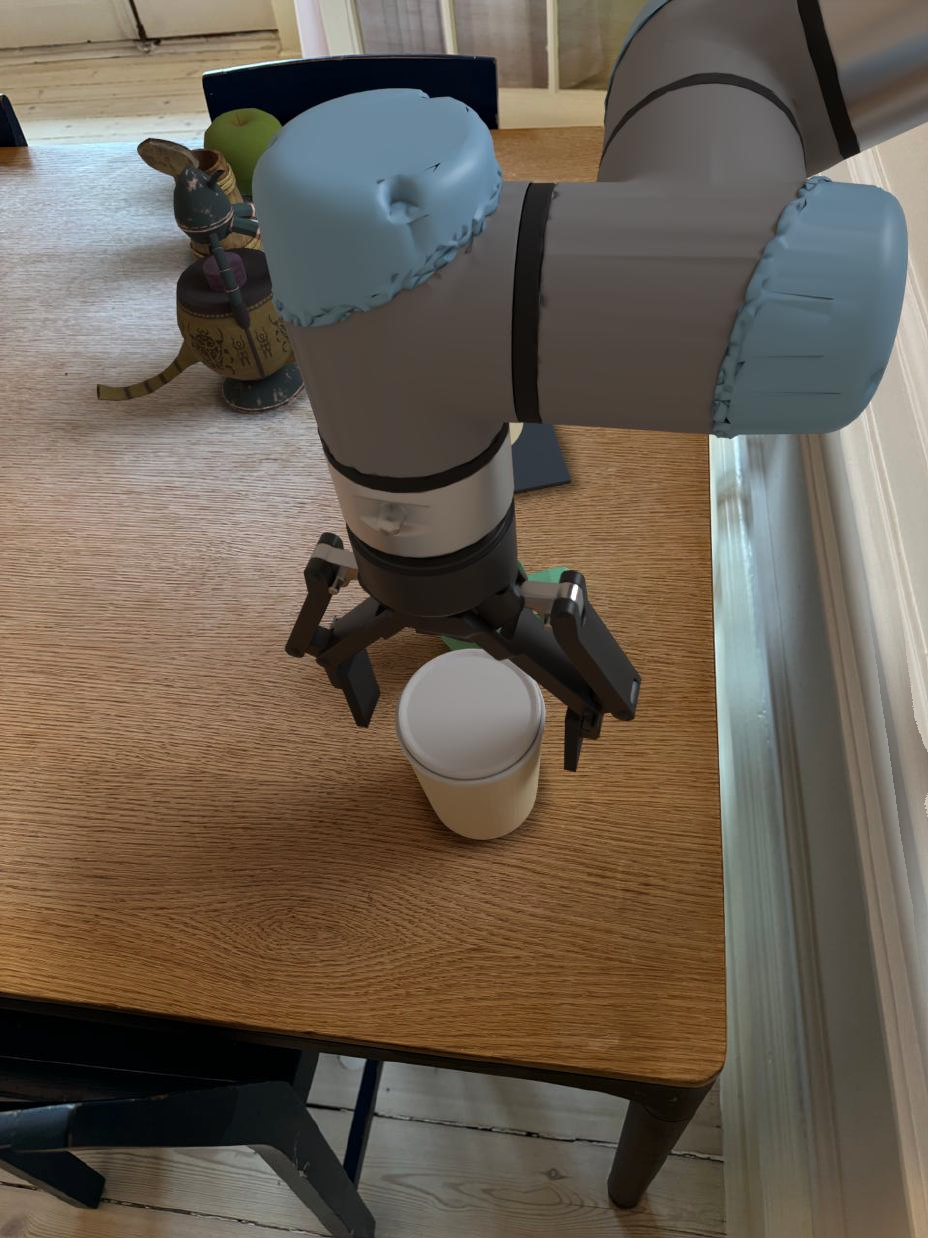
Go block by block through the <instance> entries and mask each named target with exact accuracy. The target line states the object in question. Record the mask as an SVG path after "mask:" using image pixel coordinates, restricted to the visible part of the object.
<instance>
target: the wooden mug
mask: <svg viewBox="0 0 928 1238" xmlns="http://www.w3.org/2000/svg"><path fill="white" fill-rule="evenodd" d="M136 152H137V154H138V155H139V157H140V158H141V160H142V161H143V162H144V163H145V164H146V165H147V166H148V167H150V168H152V169H153V170H156V171H157V172H160V173H162V174H164V175H168V176H170V177H172V178H173V180H174V186H176V183H177V180H178V177H179V175H180V174H181V172H182V171H183V169H184V168H185V167H186V165H188V166H190V167H193V168H196V169H199V170H201V171H202V172H204V173H205V174H207V175H208V176H209V177H211V176H212V175H213V173H214V172H215V171H216V170H221V169H222V170H225V173H223V174H222V175H221V176H220V177H219V178H218V180H217V184H218V185H219V186H220V187H221V189H222V190H223V191H224V193H225V194H226V196H227V197H228V199H229V201H230V203H231V204H235V203H245V202H244V200H243V198H242V194H240V193H239V191H238V188H237V186H236V183H235V182H236V180H235V176H234V174H233V172H232V169H231V167H230V165H229V164H228V163H227V162H226V160H225V158H224V156H223V154H222V153H221V152H220V151H218V150H216V149H212V148H206V149H204V148H194V149H190V148H189V147H187V146H186V145H183V144H181V143H178V142H175V141H172V140H168V139H164V138H155V137H148V138H146V139H144V140H143V141H141V142H140V143H139V144H138V145H137V148H136ZM248 220H252V219H248ZM189 239H190V241H189V247H190V251H191V255H192V258H193V263H194V262H195V261H197V260H198V259H200V258H202V257H204V256H207V255H210V251H209V248H208V247H209V246H208V245H199V244H197V243H195V242H194V241H193V240H192V239H191V238H190V237H189ZM220 244H221V246H222V247H223V249H224V250H227V249H231V248H251V249H257V250H260V251H262V249H263V243H262V241H260V240H258V239H256V238H253V237H251V236H247V235H243V234H239V233H234V232H233V233H231V234H229V235H228V237H227V238H226V239H224V240H223V241H221V242H220Z"/></svg>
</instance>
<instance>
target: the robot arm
mask: <svg viewBox="0 0 928 1238" xmlns="http://www.w3.org/2000/svg"><path fill="white" fill-rule="evenodd" d="M621 44H622V45H621V48H620V51H619V52H618V55H617V57H616V59H615V62H614V64H613V67H612V70H611V74H610V77H609V81H608V83H607V84H608V85H607V89H606V95H605V99H604V116H603V126H604V134H603V142H602V151H601V156H600V161H599V166H598V170H597V175H596V181H579V182H578V181H574V182H573V181H570V182H569V181H568V182H567V181H563V182H562V181H560V182H558V181H557V182H556V183H555V182H534V181H533V180H506V179H503V169H502V168H501V166H500V163H499V161H498V159H497V158H496V155H495V147H494V141H493V137H492V133H491V132H490V129H489V127H488V125H487V124H486V123H485V122H484V121H483V119H482V118H481V117H480V116H479V114H478V113H477V111H475V110H474V109H473V108H472V107H470V106H469V105H467V104H466V103H464V102H463V101H461V100H458V99H455V98H453V97H451V96H440V97H439V96H437V97H431V98H430V96H429V95H428V94H427V92H423V90H422V89H417V88H378V89H372V90H365V91H361V92H354V93H350V94H346V95H343V96H339V97H336V98H333V99H330V100H327V101H324V102H322V103H319V104H317V105H315V106H312V107H311V108H308V109H307V110H305V111H303V112H302V113H299V114H298V115H296V116H295V117H294V118H291V119H290V120H289V121H288V122H287V123H285V124H284V125H283V126H282V128H281V129H280V130H279V131H278V132H277V133H276V134H275V135H274V136H273V137H272V138H271V140H270V142H269V144H268V146H267V148H266V150H265V152H264V153H263V154H262V155H261V157H260V158H259V160H258V162H257V165H256V167H255V170H254V174H253V179H252V196H253V197H252V204H254V208H255V212H256V217H257V220H256V222H257V223H258V225H259V230H260V234H261V238H262V248H263V252H265V256H266V260H267V264H268V269H269V273H270V277H271V282H272V290H271V291H272V293H273V299H272V302H273V305H274V308H275V310H276V312H277V313H278V315H279V318H283V321H284V324H285V327H286V330H287V333H288V337H289V340H290V343H291V346H292V349H293V352H294V355H295V358H296V361H297V364H298V367H299V370H300V373H301V377H302V380H303V383H304V386H305V388H304V390H305V391H306V395H307V398H308V401H309V404H310V408H311V410H312V414H313V416H314V420H315V422H316V423H315V424H316V425H317V427H316V429H317V434H318V437H319V439H320V443H321V446H322V451H323V456H324V457H325V458H324V459H325V462H326V465H327V469H328V472H329V474H330V475H329V476H330V478H331V481H332V484H333V487H334V491H335V495H336V498H337V501H338V504H339V507H340V511H341V514H342V518H343V519H344V522H345V528H346V533H347V536H348V540H349V543H350V546H351V550H347V549H346V550H345V546H344V541H343V539H342V538H341V537H340V536H339V535H337V534H336V533H333V532H330V531H329V532H328V531H325V532H322V533H321V534H320V536H319V538H318V541H317V542H316V545H315V547H314V549H313V551H312V553H311V555H310V558H309V559H308V561H307V564H306V566H305V567H304V570H303V577H304V582H305V585H306V591H307V595H306V597H305V599H304V601H303V604H302V606H301V608H300V611H299V613H298V616H297V618H296V620H295V621H294V625H293V627H292V630H291V632H290V633H289V637H288V639H287V641H286V644H285V646H284V652H285V653H286V654H287V655H289V656H290V657H293V658H296V659H303V658H304V657H305V655H309V656H312V657H314V658H315V663H316V664H317V665H318V666H319V667H321V668H323V669H324V671H325V673H326V676H327V679H328V681H329V682H330V685H331V686H332V687H333V688H334V689H335V690H341V691H342V692H343V695H344V698H345V700H346V702H347V706H348V707H349V711H350V713H351V715H352V718H353V720H354V722H355V725H356V727H358V728H364V729H368V728H369V726H370V723H371V721H372V718H373V715H374V713H375V710H376V707H377V705H378V702H379V699H380V697H381V694H382V693H381V689H380V686H379V683H378V680H377V677H376V673H375V671H374V667H373V665H372V661H371V658H370V655H369V652H368V650H367V649H368V647H369V646H371V645H372V644H374V643H375V642H377V641H379V640H380V639H383V640H385V641H387V640H389V639H390V638H392V637H394V636H395V635H397V634H398V633H400V632H402V631H403V630H404V629H406V628H407V629H413V630H415V634H419V635H425V636H436V637H440V636H446V637H449V638H452V639H455V640H458V641H463V642H468V643H473V642H474V643H475V644H477V645H478V646H479V647H480V648H482V649H483V650H484V651H486V652H487V653H488V654H489V655H491V656H492V657H493V658H494V659H496V660H498V661H503V660H506V659H508V660H510V661H511V662H512V663H513V664H515V665H516V666H517V667H518V668H520V669H521V670H522V671H523V672H525V673H526V674H527V675H529V676H530V677H531V678H532V679H534V680H535V681H536V683H537V684H539V686H541V687H543V688H544V689H545V690H546V691H548V692H549V693H550V694H551V695H553V696H554V697H555V698H556V699H558V701H560V702H561V703H563V704H564V705H565V706H566V707H567V708H566V711H565V716H564V734H563V735H564V736H563V737H564V741H563V770H564V771H568V772H571V773H572V772H573V773H577V771H578V764H579V760H580V756H581V751H582V746H583V742H584V739H587V740H592V741H597V740H599V738H600V736H601V732H602V727H603V723H604V717H605V715H607V714H611V715H612V717H613V718H614V719H616V720H618V721H622V722H631V721H633V720H634V719H635V717H636V712H637V711H636V710H637V707H638V701H639V695H640V691H641V684H642V676H641V675H640V674H639V672H638V671H637V669H636V668H635V666H634V665H633V663H632V662H631V661H630V659H629V658H628V656H627V655H626V653H625V651H624V650H623V649H622V647H621V646H620V644H619V643H618V642H617V640H616V638H615V637H614V636H613V634H612V633H611V631H610V630H609V628H608V627H607V625H606V624H605V623H604V621H603V619H602V617H600V615H599V614H598V612H597V611H596V610H595V608H594V606H593V605H592V603H591V602H590V601H589V596H588V589H587V581H586V577H585V575H584V574H583V573H581V572H579V571H578V570H575V569H574V570H573V569H570V570H566V571H563V572H562V573H561V576H560V579H559V583H549V582H538V581H528V578H527V576H526V575H525V574H524V573H523V571H522V570H521V569H520V567H519V565H518V560H519V555H518V554H519V553H518V536H517V519H516V503H515V496H514V494H513V492H514V478H513V464H512V450H511V436H510V423H538V424H552V425H557V426H558V425H559V426H561V425H562V426H574V427H590V428H603V429H620V430H634V431H635V430H636V431H647V432H649V431H651V432H664V433H665V432H666V433H678V434H679V433H680V434H695V435H708V436H709V435H710V436H715V437H716V438H717V439H721V438H722V439H729V440H732V439H734V438H736V437H737V436H755V435H759V436H762V435H767V436H768V435H824V434H830V433H831V434H832V433H835V432H838V431H840V430H842V429H844V428H846V427H847V426H849V425H850V424H852V423H853V422H854V421H855V420H857V419H858V418H859V417H860V416H861V414H862V413H863V412H864V411H865V410H866V408H867V407H868V406H869V404H870V403H871V401H872V400H873V398H874V396H875V395H876V393H877V390H878V388H879V386H880V384H881V382H882V379H883V377H884V374H885V372H886V370H887V367H888V364H889V361H890V358H891V356H892V351H893V349H894V345H895V341H896V338H897V334H898V330H899V325H900V320H901V316H902V311H903V306H904V301H905V299H904V298H905V293H906V285H907V278H908V264H909V263H908V262H909V233H908V225H907V219H906V215H905V212H904V210H903V209H904V208H903V206H902V205H901V203H900V201H899V200H898V198H897V197H896V195H893V193H891V192H889V191H886V190H884V189H883V187H879V186H877V185H874V184H867V183H866V184H865V183H854V182H845V181H833V180H832V179H831V178H829V177H828V176H826V175H819V174H820V173H822V172H825V171H827V170H830V169H831V168H832V167H834V166H836V165H838V164H840V163H841V162H843V161H845V160H848V159H850V158H852V157H855V156H857V155H858V154H861V153H863V152H866V151H867V150H869V149H872V148H874V147H876V146H879V145H880V144H882V143H885V142H887V141H889V140H891V139H893V138H896V137H898V136H900V135H902V134H905V133H907V132H909V131H911V130H913V129H915V128H917V127H920V126H922V125H925V124H926V123H928V0H648V1H647V2H646V3H645V4H644V5H643V6H642V8H641V9H640V11H639V12H638V14H637V15H636V16H635V17H634V20H633V21H632V23H631V25H630V26H629V28H628V30H627V33H626V34H625V37H624V40H623V41H622V43H621ZM352 581H357V582H358V585H359V586H360V588H361V589H362V590H363V591H364V592H365V593H366V594H367V595H369V596H368V597H367V598H365V599H364V600H362V601H361V602H360V603H359V604H357V605H356V606H355V607H353V608H352V609H351V610H349V611H348V612H346V613H345V614H344V615H343V616H341V617H338V615H336V614H335V615H334V616H333V619H332V620H331V621H332V622H331V623H330V626H329V628H327V627H324V626H321V625H320V624H321V622H322V619H323V617H324V616H325V613H326V611H327V609H328V607H329V605H330V603H331V600H332V598H333V596H336V595H338V594H339V593H340V590H341V588H347V587H348V586H349V585H350V583H351V582H352ZM534 612H536V614H539V615H540V617H541V618H542V619H543V620H544V622H542V621H541V620H540V619H538V618H537V617H536V616H535V615H536V614H535V613H534ZM499 628H501V630H500V633H498V632H497V631H496V630H498V629H499Z"/></svg>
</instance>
